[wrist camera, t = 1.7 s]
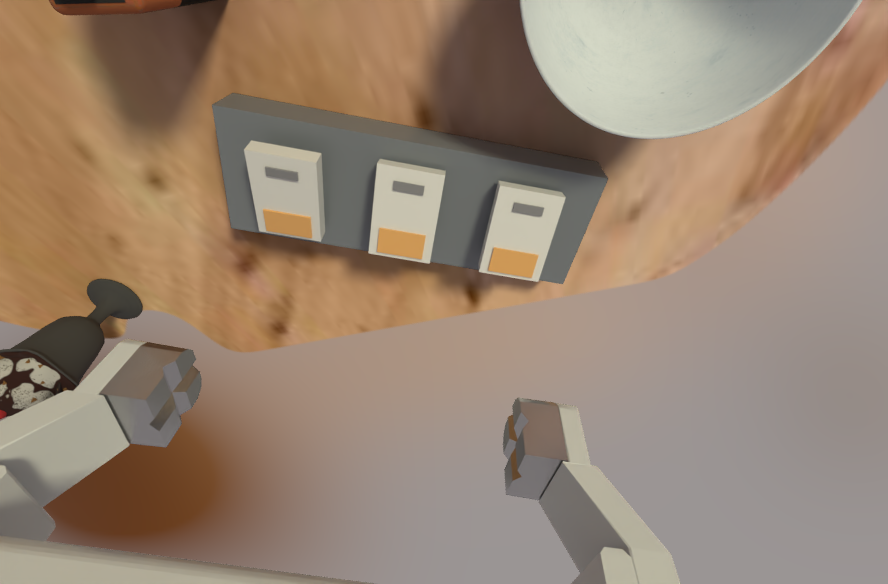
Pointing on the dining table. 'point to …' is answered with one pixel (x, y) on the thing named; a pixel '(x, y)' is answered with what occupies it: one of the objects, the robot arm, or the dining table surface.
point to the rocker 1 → (287, 190)
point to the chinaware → (674, 57)
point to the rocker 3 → (520, 230)
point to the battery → (116, 6)
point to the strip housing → (366, 141)
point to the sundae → (61, 350)
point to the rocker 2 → (405, 210)
